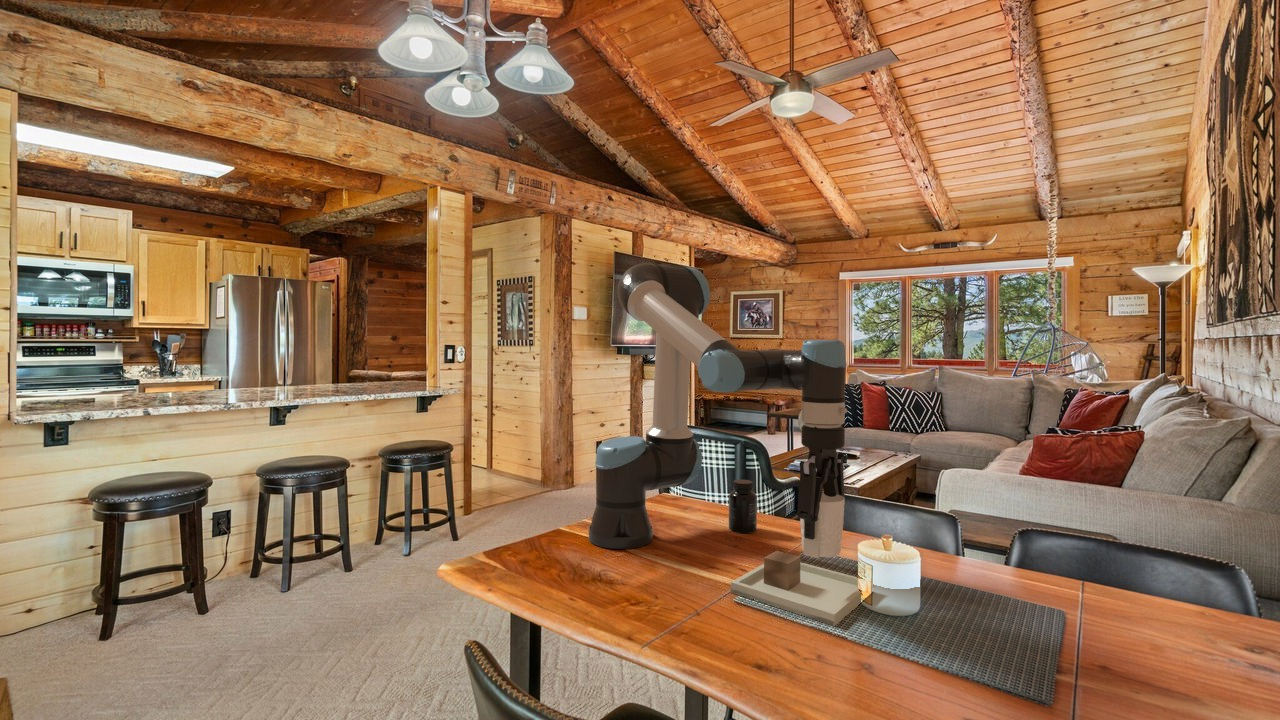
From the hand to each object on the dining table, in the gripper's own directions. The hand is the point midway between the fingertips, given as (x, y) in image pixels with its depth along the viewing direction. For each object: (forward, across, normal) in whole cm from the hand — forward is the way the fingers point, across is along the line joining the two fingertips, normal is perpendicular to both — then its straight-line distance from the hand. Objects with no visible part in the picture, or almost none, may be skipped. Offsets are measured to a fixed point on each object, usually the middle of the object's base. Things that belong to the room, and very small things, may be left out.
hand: (821, 549), depth 111 cm
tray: (+9, 0, +4) cm, 10 cm away
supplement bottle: (+9, +25, +32) cm, 41 cm away
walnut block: (+8, 0, +8) cm, 11 cm away
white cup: (0, 0, 0) cm, 0 cm away
